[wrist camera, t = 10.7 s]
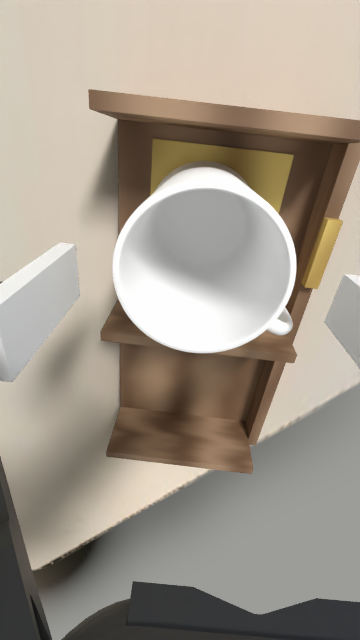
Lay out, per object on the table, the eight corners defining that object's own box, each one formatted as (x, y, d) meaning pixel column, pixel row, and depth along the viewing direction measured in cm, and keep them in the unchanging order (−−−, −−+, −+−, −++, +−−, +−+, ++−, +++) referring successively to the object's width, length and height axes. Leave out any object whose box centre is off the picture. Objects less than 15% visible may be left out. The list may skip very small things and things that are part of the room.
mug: (302, 252, 24) (380, 331, 13) (222, 314, 27) (236, 415, 17) (205, 131, 20) (209, 113, 10) (126, 220, 23) (67, 277, 13)
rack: (122, 404, 36) (106, 456, 30) (121, 106, 21) (88, 89, 15) (251, 420, 36) (261, 475, 30) (345, 132, 21) (405, 125, 15)
